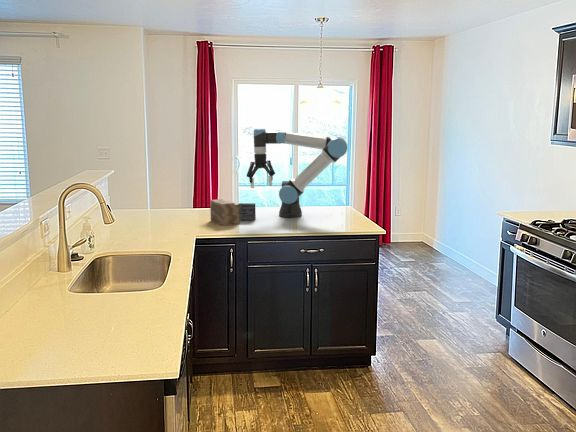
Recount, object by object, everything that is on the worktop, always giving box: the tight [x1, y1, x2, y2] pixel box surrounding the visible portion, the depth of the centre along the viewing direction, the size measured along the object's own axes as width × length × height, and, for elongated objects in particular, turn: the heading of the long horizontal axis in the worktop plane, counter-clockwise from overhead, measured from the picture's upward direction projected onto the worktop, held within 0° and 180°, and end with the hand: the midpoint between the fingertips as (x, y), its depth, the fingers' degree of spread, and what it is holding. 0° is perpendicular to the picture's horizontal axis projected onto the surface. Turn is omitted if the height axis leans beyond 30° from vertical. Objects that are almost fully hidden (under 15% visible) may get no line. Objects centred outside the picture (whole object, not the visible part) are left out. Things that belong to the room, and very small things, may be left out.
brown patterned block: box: [209, 198, 240, 227], centre depth 360 cm, size 11×18×13 cm, turn 32°
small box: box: [238, 202, 257, 222], centre depth 369 cm, size 11×6×10 cm, turn 84°
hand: (261, 186), depth 370 cm, fingers open, 13 cm apart
